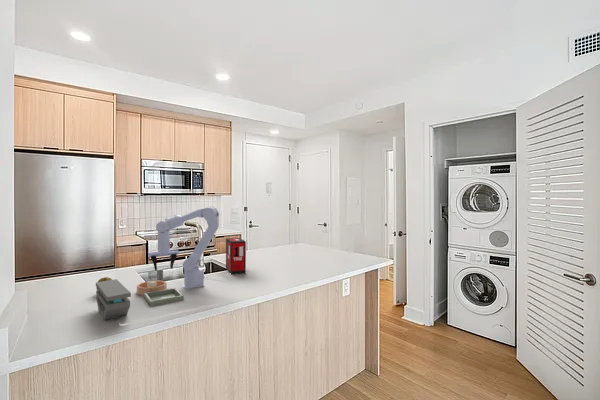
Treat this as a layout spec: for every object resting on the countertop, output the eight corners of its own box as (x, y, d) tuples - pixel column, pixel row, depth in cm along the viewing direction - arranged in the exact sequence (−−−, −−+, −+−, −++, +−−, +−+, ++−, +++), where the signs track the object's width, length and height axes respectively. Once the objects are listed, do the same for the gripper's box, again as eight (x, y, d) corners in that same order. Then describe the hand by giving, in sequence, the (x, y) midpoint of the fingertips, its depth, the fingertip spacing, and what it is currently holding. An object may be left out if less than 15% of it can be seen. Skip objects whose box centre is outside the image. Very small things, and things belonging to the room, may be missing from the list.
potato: (93, 300, 141) (93, 283, 141) (97, 292, 153) (97, 276, 153) (114, 298, 145) (114, 281, 145) (117, 290, 156) (117, 274, 156)
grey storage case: (95, 307, 133) (95, 282, 133) (116, 303, 138) (116, 279, 138) (107, 326, 115) (107, 297, 114) (130, 320, 120) (130, 292, 120)
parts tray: (175, 293, 153) (175, 287, 153) (183, 301, 142) (183, 295, 142) (144, 298, 145) (144, 293, 145) (150, 307, 133) (150, 301, 133)
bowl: (162, 286, 163) (162, 279, 163) (169, 293, 153) (169, 285, 153) (135, 291, 155) (134, 283, 155) (139, 298, 145) (139, 289, 145)
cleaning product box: (245, 273, 193) (245, 241, 192) (231, 274, 189) (231, 242, 189) (239, 267, 208) (239, 237, 207) (225, 268, 204) (226, 238, 204)
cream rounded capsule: (155, 288, 157) (155, 280, 157) (157, 291, 154) (157, 282, 153) (146, 290, 154) (146, 281, 154) (148, 292, 151) (148, 283, 151)
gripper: (149, 245, 155) (149, 272, 155) (179, 243, 163) (179, 269, 163) (147, 243, 161) (147, 269, 161) (176, 241, 169) (176, 266, 169)
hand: (163, 269), depth 163 cm, fingers open, 7 cm apart
